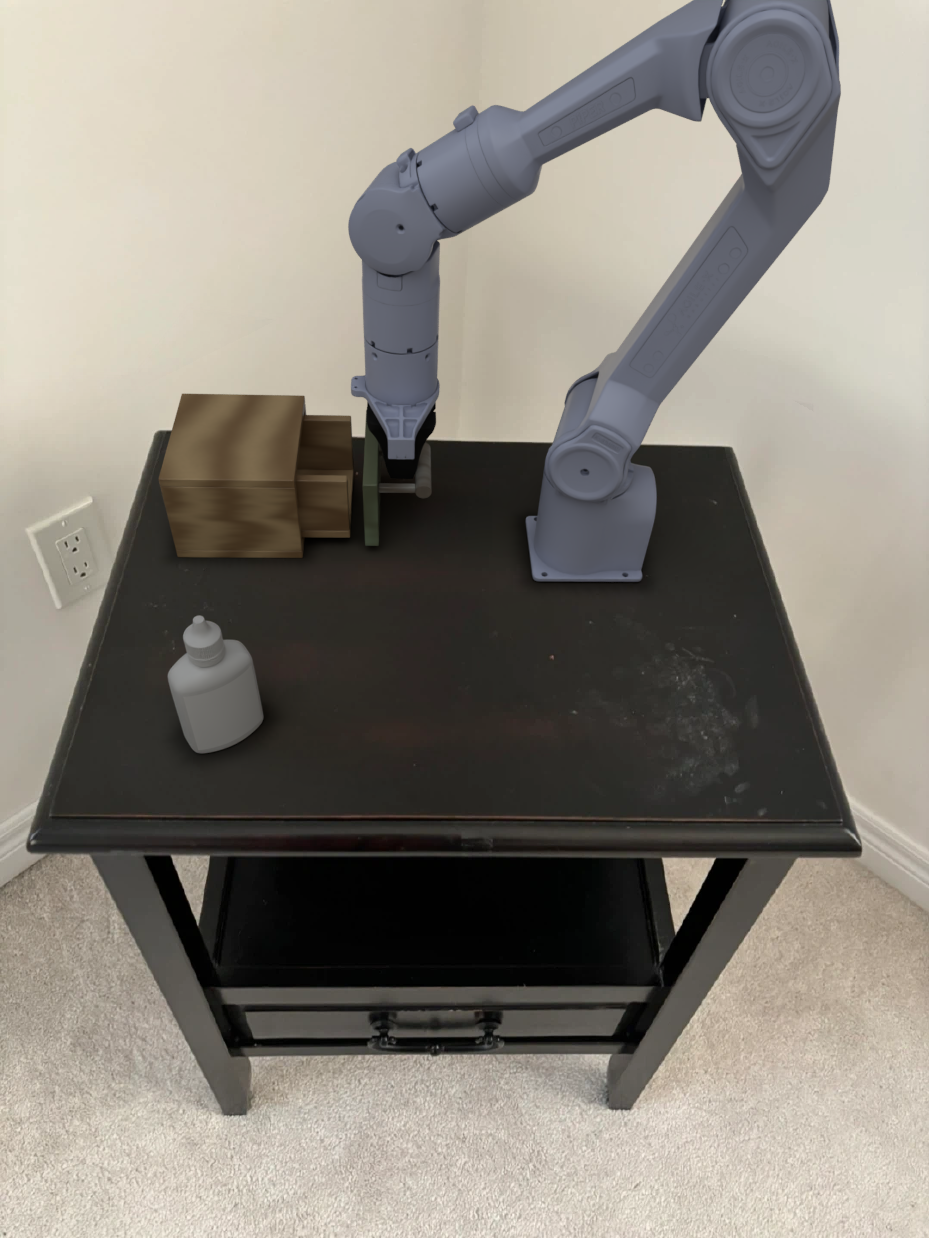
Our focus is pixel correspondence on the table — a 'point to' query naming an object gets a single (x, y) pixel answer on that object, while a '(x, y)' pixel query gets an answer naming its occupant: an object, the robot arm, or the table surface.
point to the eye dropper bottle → (214, 689)
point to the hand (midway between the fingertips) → (401, 473)
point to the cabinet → (234, 476)
